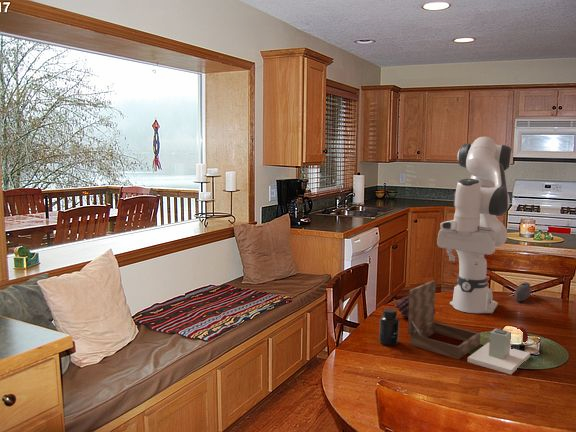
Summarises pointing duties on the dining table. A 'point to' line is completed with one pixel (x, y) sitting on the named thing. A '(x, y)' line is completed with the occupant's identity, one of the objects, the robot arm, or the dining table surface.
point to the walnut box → (435, 325)
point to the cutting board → (498, 364)
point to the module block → (499, 343)
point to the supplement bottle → (389, 327)
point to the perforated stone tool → (522, 292)
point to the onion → (525, 335)
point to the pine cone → (404, 306)
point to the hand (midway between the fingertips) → (464, 263)
